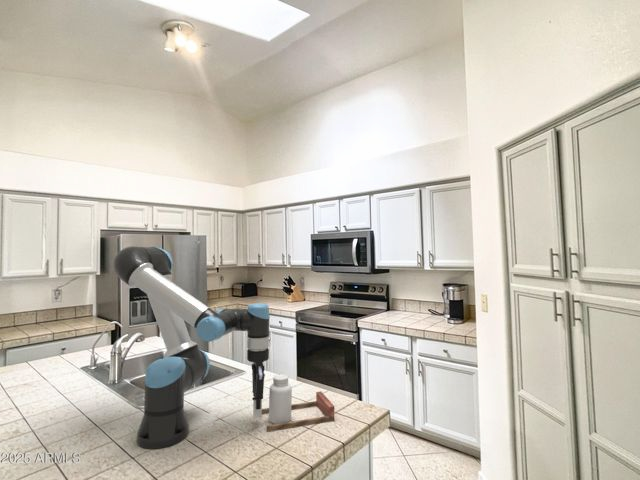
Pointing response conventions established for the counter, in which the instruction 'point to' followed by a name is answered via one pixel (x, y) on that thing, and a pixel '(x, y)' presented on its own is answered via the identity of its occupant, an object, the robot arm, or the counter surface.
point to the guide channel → (324, 407)
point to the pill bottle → (280, 400)
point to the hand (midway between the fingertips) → (257, 417)
